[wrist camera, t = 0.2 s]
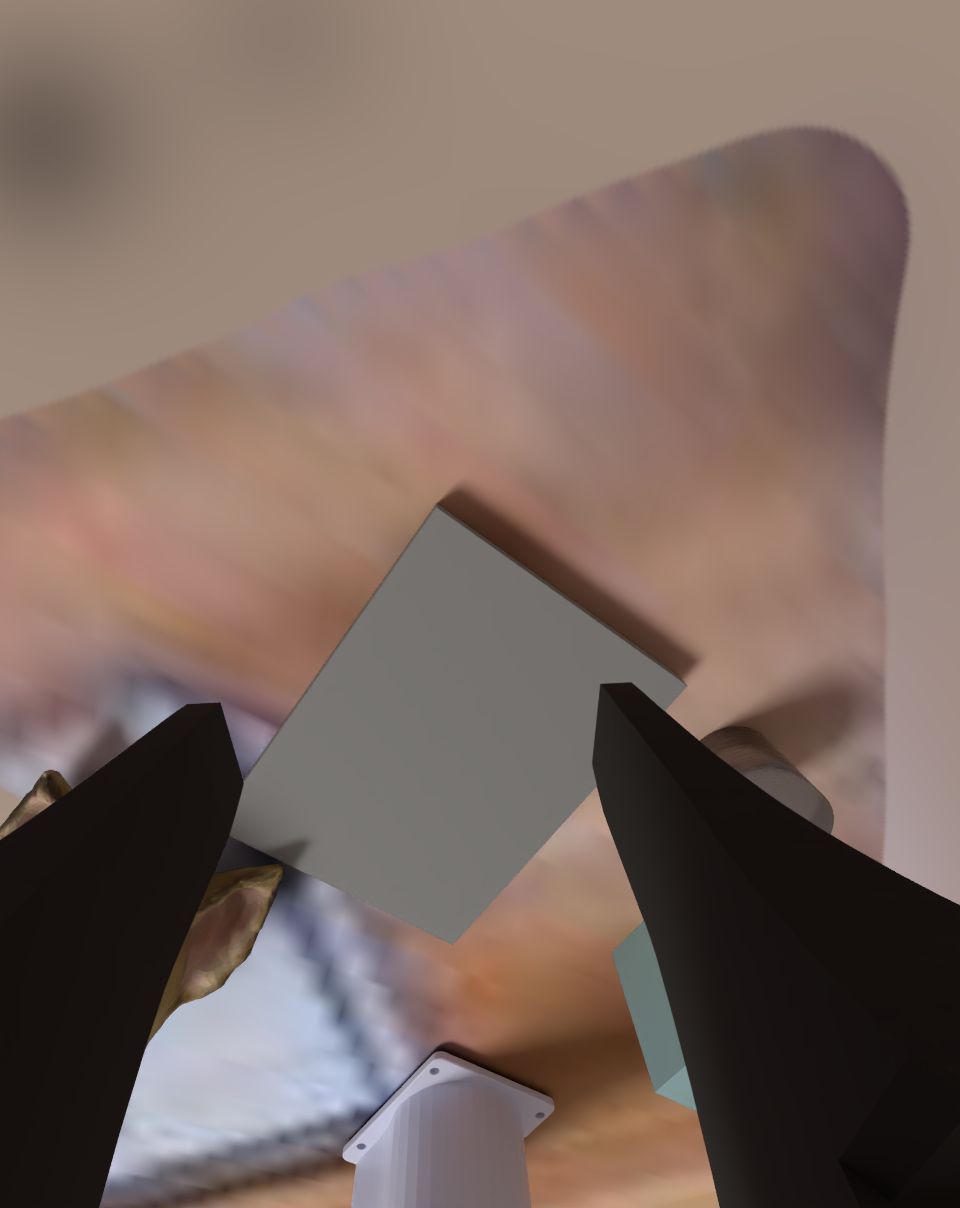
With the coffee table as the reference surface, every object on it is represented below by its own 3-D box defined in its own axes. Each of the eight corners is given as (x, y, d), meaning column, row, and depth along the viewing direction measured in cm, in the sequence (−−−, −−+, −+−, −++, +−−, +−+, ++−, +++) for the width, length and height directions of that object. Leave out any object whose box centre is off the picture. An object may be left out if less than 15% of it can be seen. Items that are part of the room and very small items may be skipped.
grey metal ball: (728, 817, 25) (779, 888, 21) (665, 776, 24) (705, 843, 20) (790, 755, 24) (855, 817, 20) (727, 710, 23) (782, 766, 19)
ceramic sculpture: (-293, 1243, 17) (-127, 886, 14) (-55, 979, 25) (77, 723, 22) (59, 1311, 19) (257, 1019, 16) (169, 1051, 27) (313, 828, 25)
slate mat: (452, 925, 26) (452, 945, 25) (221, 810, 23) (212, 827, 22) (677, 674, 22) (687, 685, 21) (436, 503, 20) (436, 507, 19)
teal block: (676, 986, 28) (734, 1128, 23) (611, 952, 27) (654, 1092, 21) (736, 930, 27) (813, 1064, 22) (671, 892, 26) (733, 1023, 20)
